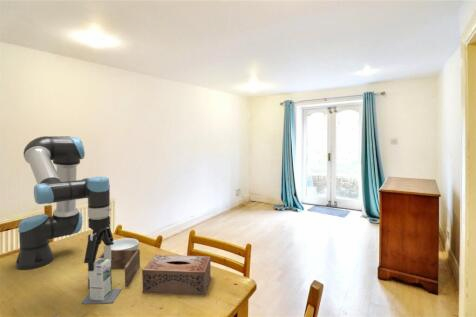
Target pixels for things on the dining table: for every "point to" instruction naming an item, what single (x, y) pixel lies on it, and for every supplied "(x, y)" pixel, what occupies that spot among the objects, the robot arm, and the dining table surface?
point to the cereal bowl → (125, 244)
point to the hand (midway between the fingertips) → (100, 268)
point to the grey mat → (109, 299)
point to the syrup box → (101, 280)
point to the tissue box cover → (177, 275)
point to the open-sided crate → (124, 263)
